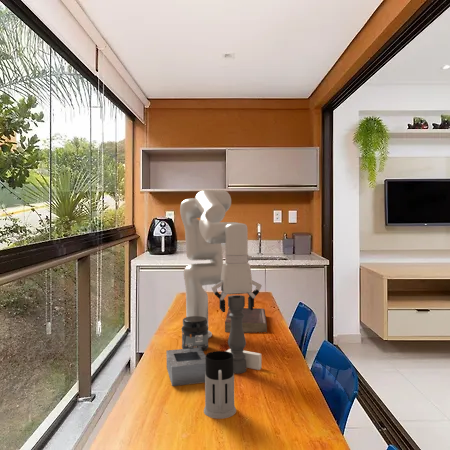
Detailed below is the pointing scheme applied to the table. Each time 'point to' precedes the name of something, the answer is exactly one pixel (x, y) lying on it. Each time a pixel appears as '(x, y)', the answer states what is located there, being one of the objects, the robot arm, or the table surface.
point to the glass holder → (219, 385)
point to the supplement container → (195, 333)
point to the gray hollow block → (186, 366)
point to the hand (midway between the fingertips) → (236, 310)
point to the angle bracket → (251, 359)
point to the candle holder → (237, 333)
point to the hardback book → (250, 320)
